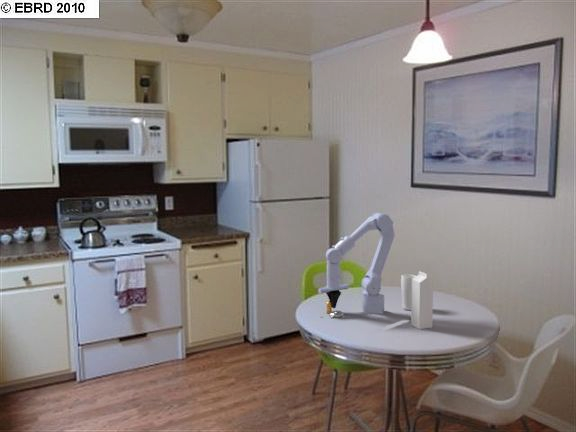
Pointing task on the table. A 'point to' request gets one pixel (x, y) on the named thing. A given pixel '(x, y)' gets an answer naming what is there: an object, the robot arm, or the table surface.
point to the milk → (422, 301)
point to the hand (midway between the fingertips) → (333, 307)
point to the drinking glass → (406, 291)
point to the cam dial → (334, 313)
